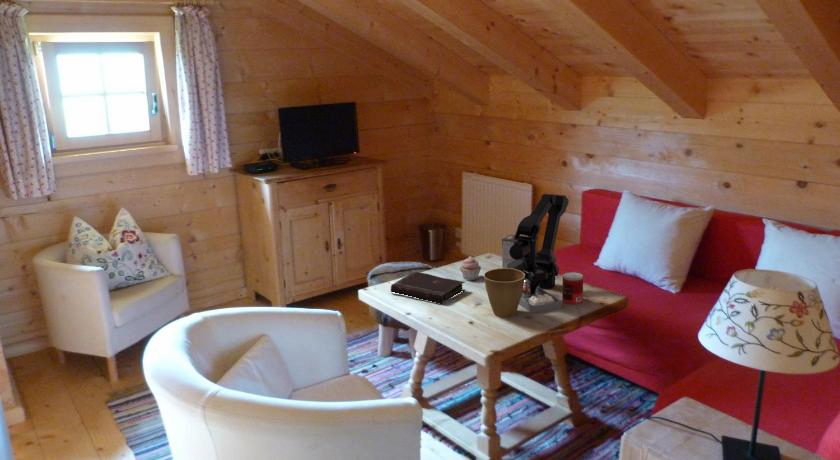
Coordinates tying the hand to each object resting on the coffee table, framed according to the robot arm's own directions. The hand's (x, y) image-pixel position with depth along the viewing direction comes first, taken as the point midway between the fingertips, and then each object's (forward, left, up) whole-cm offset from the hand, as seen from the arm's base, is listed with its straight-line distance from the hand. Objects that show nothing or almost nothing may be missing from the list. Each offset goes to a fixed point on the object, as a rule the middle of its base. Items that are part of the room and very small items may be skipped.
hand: (528, 291), depth 258 cm
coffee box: (-10, -33, -4) cm, 34 cm away
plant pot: (+15, +10, -4) cm, 19 cm away
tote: (0, +4, -4) cm, 5 cm away
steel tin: (0, 0, -2) cm, 2 cm away
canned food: (-14, +9, -4) cm, 17 cm away
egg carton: (0, +10, -3) cm, 11 cm away
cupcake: (+10, -34, -4) cm, 35 cm away
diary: (+33, -25, -5) cm, 41 cm away
